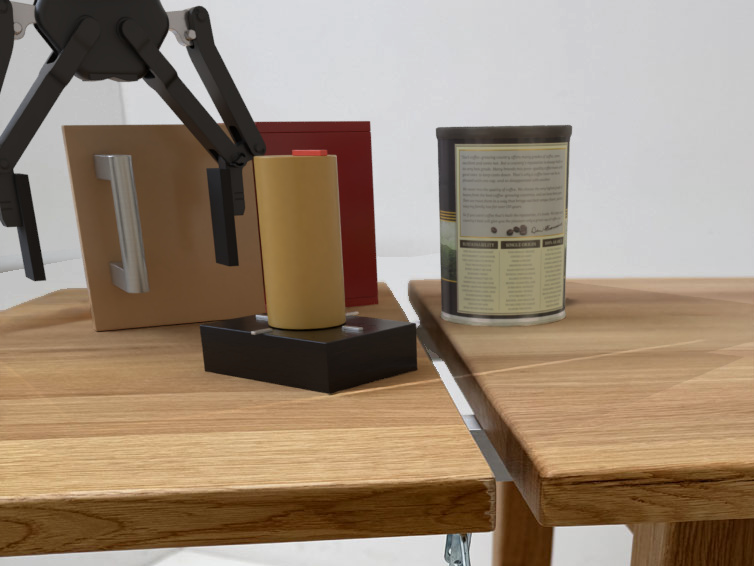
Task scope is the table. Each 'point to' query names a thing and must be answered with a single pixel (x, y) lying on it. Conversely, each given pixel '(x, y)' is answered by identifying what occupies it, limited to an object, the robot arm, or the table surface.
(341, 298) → the knob
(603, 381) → the table surface
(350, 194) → the dark red cabinet
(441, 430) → the table surface
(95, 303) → the door
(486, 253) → the coffee can
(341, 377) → the dark brown base block
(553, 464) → the table surface
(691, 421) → the table surface
